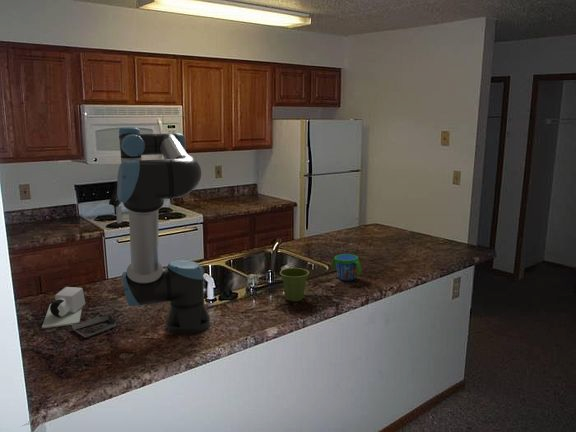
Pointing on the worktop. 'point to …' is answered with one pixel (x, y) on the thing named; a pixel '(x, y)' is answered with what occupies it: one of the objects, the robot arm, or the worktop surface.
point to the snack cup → (346, 266)
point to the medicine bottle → (67, 301)
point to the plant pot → (294, 283)
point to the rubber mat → (61, 319)
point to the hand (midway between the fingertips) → (135, 223)
